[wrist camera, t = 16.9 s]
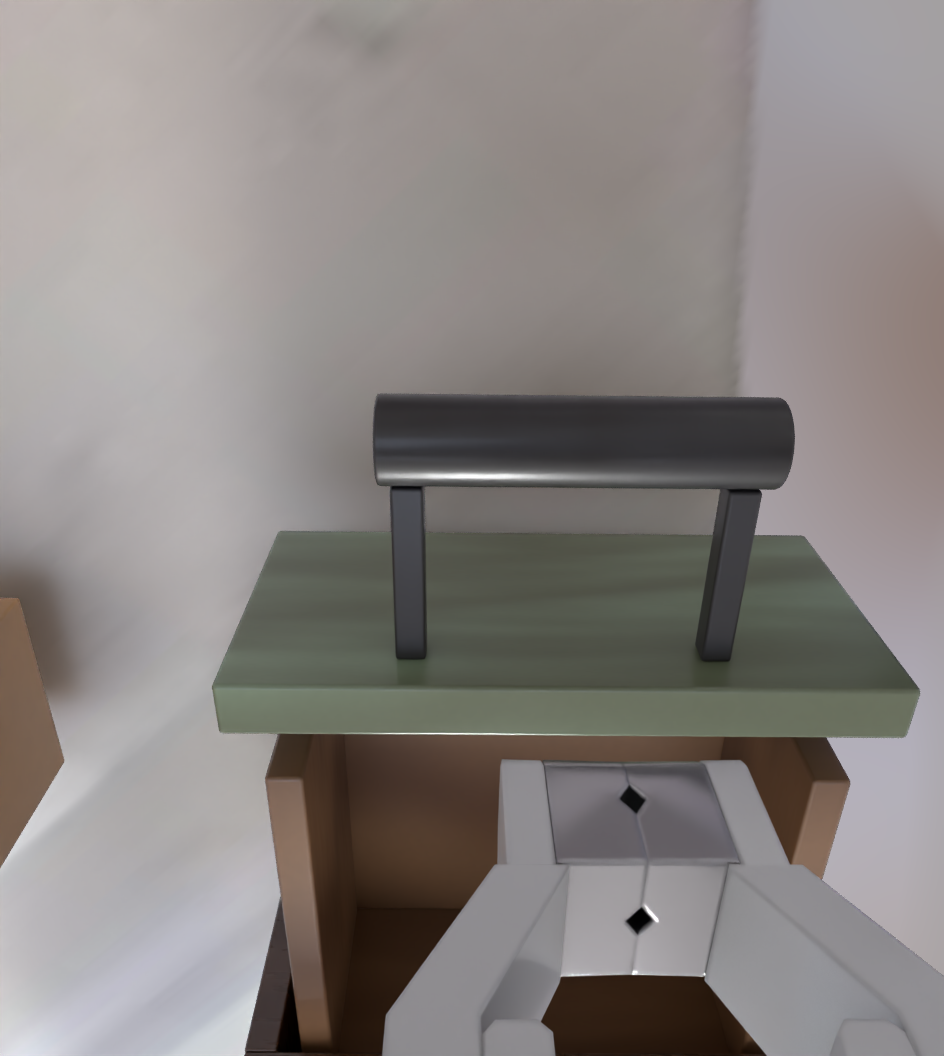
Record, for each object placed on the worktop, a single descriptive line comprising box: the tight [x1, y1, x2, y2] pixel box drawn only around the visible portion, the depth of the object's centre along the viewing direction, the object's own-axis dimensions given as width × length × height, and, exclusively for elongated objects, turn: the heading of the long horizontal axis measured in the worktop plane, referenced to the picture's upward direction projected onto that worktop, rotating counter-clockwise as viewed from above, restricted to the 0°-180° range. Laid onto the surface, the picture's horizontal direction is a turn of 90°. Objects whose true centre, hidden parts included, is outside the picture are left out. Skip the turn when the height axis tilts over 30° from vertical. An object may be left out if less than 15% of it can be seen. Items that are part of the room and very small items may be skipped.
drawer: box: [212, 394, 920, 1054], centre depth 20 cm, size 19×13×6 cm
